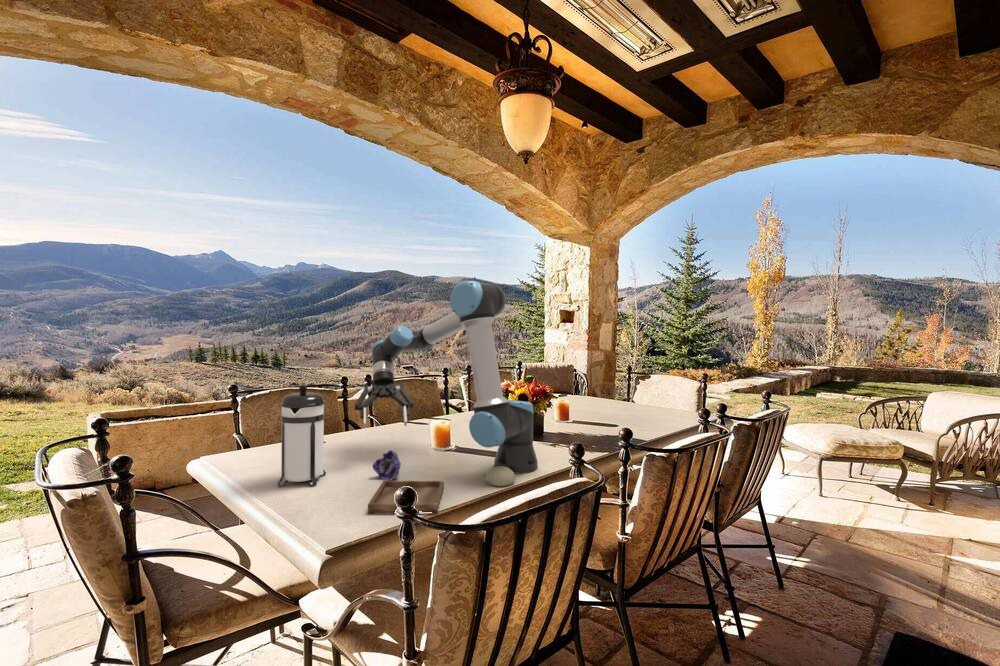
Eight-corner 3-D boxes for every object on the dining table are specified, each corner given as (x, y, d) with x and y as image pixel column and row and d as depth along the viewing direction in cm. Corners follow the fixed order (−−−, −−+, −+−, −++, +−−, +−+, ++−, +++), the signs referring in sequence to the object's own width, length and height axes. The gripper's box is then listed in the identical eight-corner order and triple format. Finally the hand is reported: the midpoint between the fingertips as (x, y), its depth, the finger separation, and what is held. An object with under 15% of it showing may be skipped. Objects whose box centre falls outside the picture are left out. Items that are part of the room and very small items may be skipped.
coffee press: (339, 480, 143) (340, 385, 143) (287, 493, 132) (287, 389, 131) (316, 467, 156) (316, 379, 155) (266, 478, 144) (266, 383, 144)
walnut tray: (443, 489, 137) (444, 480, 137) (437, 514, 119) (437, 504, 119) (383, 488, 136) (383, 480, 136) (367, 513, 119) (367, 504, 118)
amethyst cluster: (386, 450, 155) (382, 444, 146) (409, 461, 154) (406, 456, 145) (371, 475, 151) (366, 471, 142) (394, 487, 150) (390, 484, 141)
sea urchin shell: (521, 479, 141) (504, 463, 139) (504, 499, 139) (486, 483, 137) (512, 470, 149) (496, 454, 148) (495, 489, 148) (479, 473, 146)
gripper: (416, 381, 177) (421, 428, 163) (348, 383, 169) (347, 432, 155) (418, 369, 172) (423, 416, 158) (348, 370, 164) (347, 420, 150)
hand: (385, 424), depth 156 cm, fingers open, 13 cm apart
